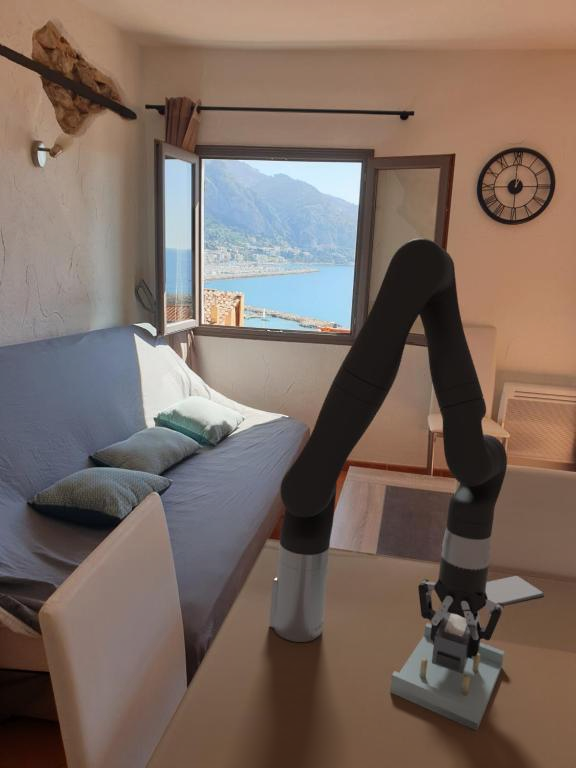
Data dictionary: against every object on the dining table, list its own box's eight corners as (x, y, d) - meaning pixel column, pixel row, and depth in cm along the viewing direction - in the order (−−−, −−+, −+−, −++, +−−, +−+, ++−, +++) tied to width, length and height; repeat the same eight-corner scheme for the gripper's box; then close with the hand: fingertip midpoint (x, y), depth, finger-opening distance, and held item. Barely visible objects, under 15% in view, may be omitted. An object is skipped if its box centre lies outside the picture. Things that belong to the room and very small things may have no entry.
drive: (444, 631, 105) (447, 605, 104) (473, 640, 103) (476, 614, 102) (430, 664, 95) (434, 636, 94) (462, 675, 93) (466, 647, 92)
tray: (390, 692, 96) (392, 669, 95) (425, 638, 111) (427, 617, 110) (476, 730, 89) (480, 706, 88) (502, 667, 104) (505, 646, 103)
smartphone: (466, 585, 131) (516, 574, 137) (465, 589, 131) (516, 578, 137) (492, 605, 123) (545, 593, 129) (492, 609, 124) (544, 597, 130)
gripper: (515, 560, 96) (502, 653, 99) (429, 535, 103) (419, 623, 106) (506, 579, 89) (492, 678, 92) (415, 551, 96) (405, 645, 99)
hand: (453, 648), depth 99 cm, fingers closed on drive, 5 cm apart
